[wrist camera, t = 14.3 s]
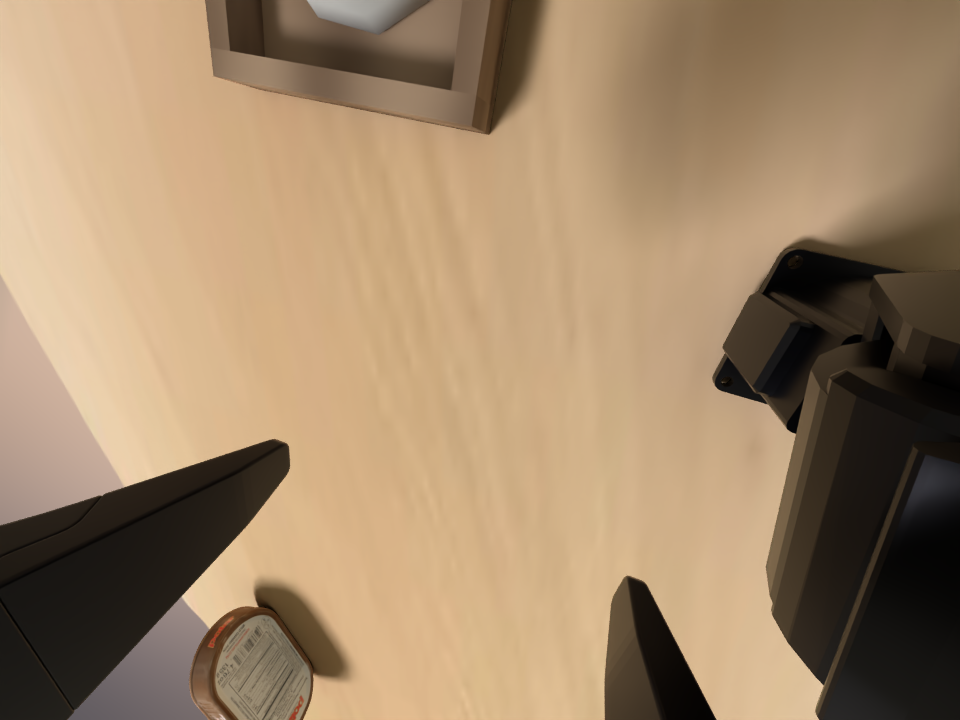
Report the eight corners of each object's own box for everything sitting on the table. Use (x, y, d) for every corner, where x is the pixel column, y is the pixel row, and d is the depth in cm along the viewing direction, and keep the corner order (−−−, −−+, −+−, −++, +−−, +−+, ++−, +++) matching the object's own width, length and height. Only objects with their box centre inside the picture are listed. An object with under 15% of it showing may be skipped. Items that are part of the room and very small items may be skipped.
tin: (244, 587, 40) (164, 676, 33) (264, 588, 39) (186, 680, 32) (310, 678, 45) (252, 775, 37) (330, 682, 44) (274, 782, 36)
